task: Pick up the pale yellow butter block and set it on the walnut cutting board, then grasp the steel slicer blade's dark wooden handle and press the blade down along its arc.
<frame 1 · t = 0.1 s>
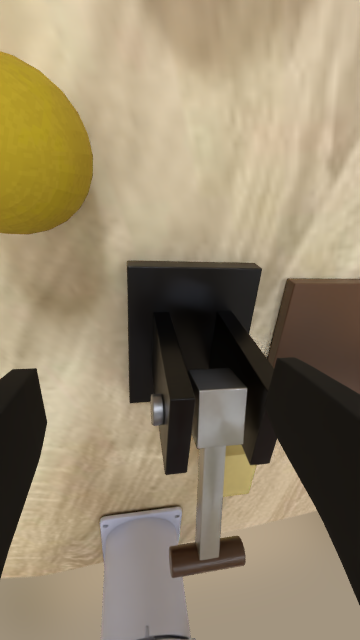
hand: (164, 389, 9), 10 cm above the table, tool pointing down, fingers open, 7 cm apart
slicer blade: (210, 479, 15), point 8 cm above the table, hinge at 15.0°
butter: (221, 438, 26), on the table
slicer: (187, 332, 20), on the table
lemon: (42, 157, 14), on the table
board: (317, 361, 23), on the table
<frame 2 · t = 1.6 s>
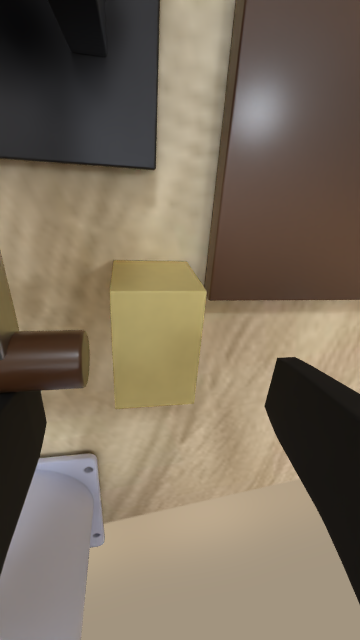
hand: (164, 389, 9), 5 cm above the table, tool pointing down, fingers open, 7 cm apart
butter: (150, 312, 14), on the table
board: (333, 126, 11), on the table
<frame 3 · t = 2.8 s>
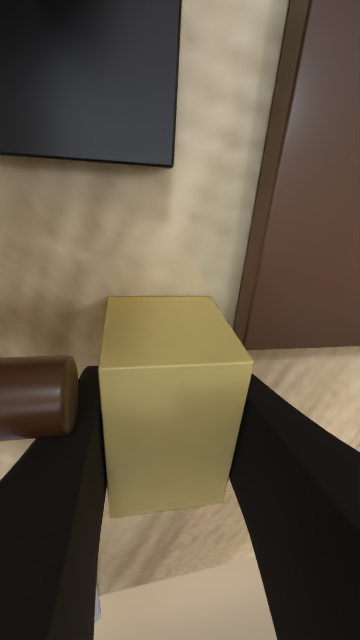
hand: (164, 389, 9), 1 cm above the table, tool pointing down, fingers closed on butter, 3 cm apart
butter: (158, 362, 10), on the table, touching gripper
when the fingers open (2 cm above the table, at t = 6.4 s): butter stays where it is, resting on board.
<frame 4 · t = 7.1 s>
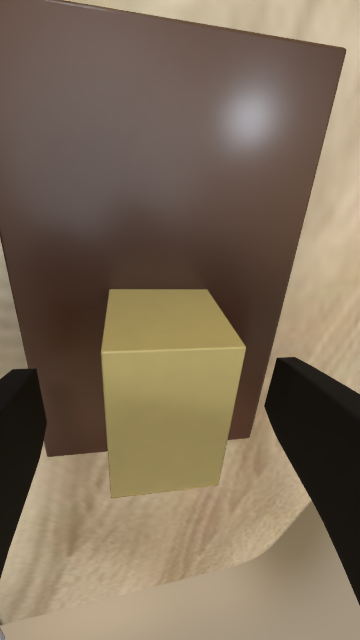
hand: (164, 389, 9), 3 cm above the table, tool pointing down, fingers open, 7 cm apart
butter: (157, 353, 10), point 1 cm above the table, touching board
board: (157, 292, 10), on the table
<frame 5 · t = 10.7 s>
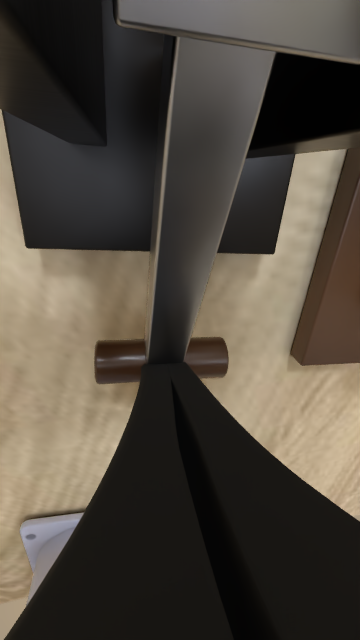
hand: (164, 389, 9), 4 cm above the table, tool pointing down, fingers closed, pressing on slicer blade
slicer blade: (184, 232, 5), point 5 cm above the table, hinge at -27.4°, touching gripper
slicer: (160, 63, 8), on the table
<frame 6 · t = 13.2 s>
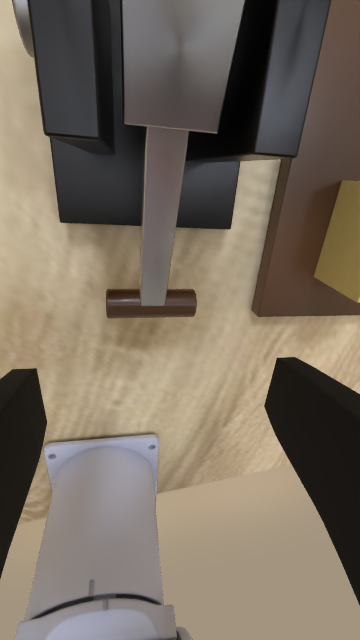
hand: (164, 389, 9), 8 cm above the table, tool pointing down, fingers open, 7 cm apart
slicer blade: (159, 207, 9), point 5 cm above the table, hinge at -25.8°
butter: (352, 233, 16), point 1 cm above the table, touching board
slicer: (149, 99, 12), on the table
board: (352, 192, 16), on the table
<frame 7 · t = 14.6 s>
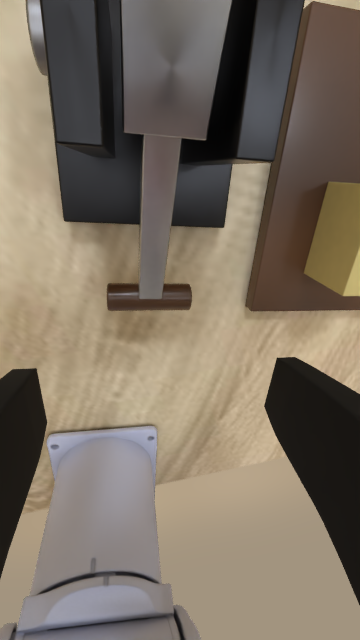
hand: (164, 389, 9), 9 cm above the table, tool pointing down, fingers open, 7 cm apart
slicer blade: (155, 207, 10), point 5 cm above the table, hinge at -25.8°
butter: (339, 231, 16), point 1 cm above the table, touching board
slicer: (147, 107, 13), on the table
board: (339, 193, 16), on the table
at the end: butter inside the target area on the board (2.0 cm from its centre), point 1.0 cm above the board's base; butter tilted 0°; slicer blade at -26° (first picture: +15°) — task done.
